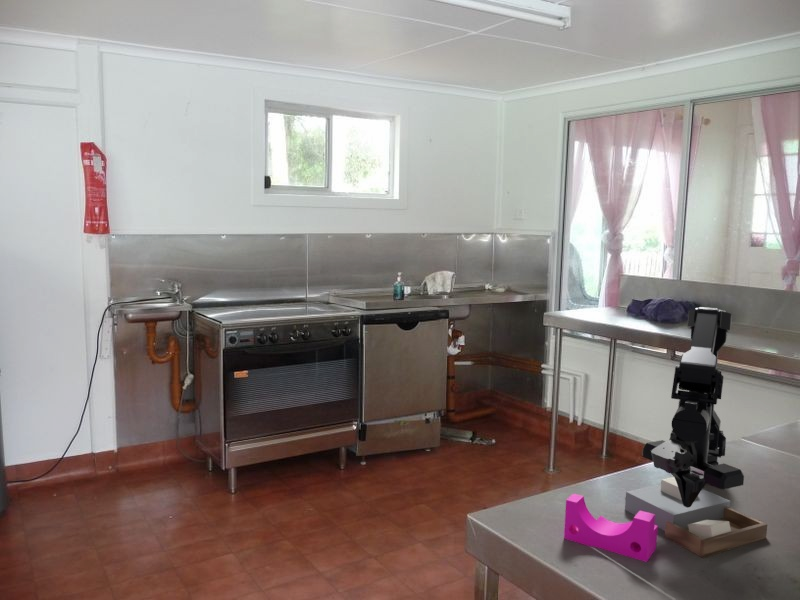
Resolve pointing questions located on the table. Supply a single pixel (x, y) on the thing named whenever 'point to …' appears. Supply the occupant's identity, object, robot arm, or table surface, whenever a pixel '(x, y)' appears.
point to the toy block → (610, 531)
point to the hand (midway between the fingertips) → (687, 506)
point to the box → (741, 534)
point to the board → (675, 506)
